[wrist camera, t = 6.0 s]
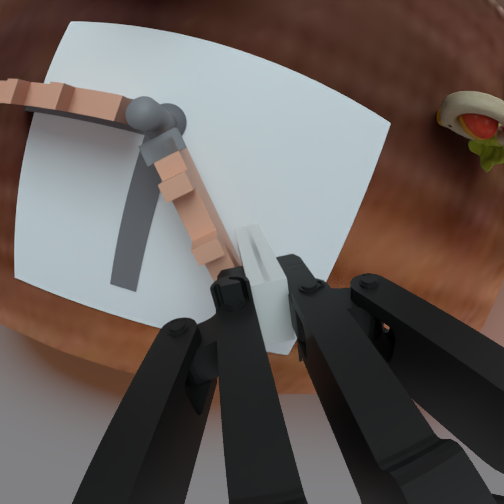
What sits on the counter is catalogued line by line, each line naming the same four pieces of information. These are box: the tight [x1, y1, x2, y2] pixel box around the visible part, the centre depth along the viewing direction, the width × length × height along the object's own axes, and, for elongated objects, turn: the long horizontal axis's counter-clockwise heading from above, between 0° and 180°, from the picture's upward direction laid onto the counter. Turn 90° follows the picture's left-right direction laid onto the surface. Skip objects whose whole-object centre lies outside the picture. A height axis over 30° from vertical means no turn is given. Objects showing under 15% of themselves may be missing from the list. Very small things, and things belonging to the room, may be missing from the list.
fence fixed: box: [0, 79, 176, 134], centre depth 11 cm, size 12×1×7 cm, turn 69°
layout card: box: [14, 22, 391, 355], centre depth 17 cm, size 25×20×1 cm
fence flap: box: [138, 127, 242, 282], centre depth 15 cm, size 10×2×6 cm, turn 23°
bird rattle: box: [436, 91, 504, 172], centre depth 14 cm, size 6×11×9 cm
